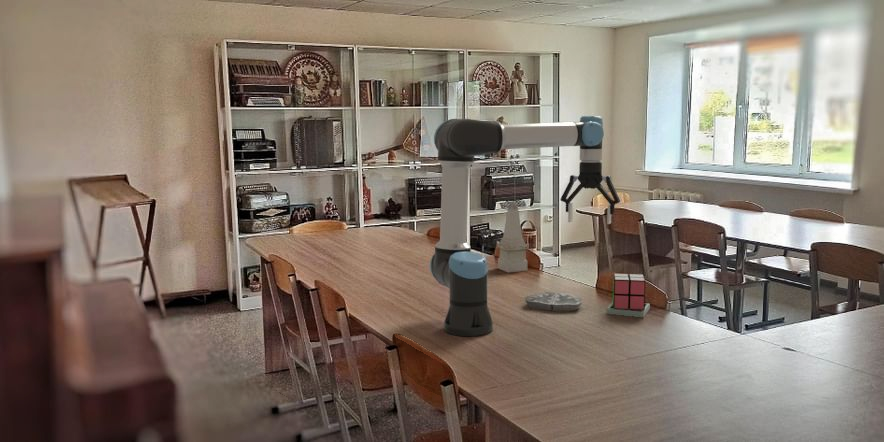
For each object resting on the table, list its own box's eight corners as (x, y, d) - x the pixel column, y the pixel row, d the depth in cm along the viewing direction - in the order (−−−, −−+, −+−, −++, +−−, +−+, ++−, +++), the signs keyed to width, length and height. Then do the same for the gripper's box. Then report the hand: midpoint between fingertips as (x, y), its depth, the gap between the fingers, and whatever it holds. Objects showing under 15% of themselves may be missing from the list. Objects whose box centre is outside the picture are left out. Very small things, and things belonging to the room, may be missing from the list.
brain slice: (584, 302, 248) (584, 294, 247) (580, 314, 231) (580, 306, 231) (529, 299, 253) (529, 291, 252) (522, 311, 237) (522, 302, 236)
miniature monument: (529, 270, 300) (529, 201, 296) (507, 272, 296) (507, 203, 292) (517, 266, 310) (518, 199, 306) (496, 268, 306) (496, 200, 302)
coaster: (643, 317, 226) (643, 312, 226) (606, 313, 231) (606, 308, 231) (649, 308, 237) (649, 303, 237) (614, 305, 242) (614, 300, 242)
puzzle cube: (644, 310, 228) (645, 280, 226) (613, 309, 230) (614, 279, 229) (642, 302, 238) (643, 274, 236) (612, 301, 240) (613, 273, 238)
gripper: (629, 161, 236) (628, 223, 239) (558, 160, 247) (557, 219, 250) (625, 162, 229) (623, 226, 232) (552, 161, 240) (551, 222, 243)
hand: (589, 222), depth 241 cm, fingers open, 13 cm apart
